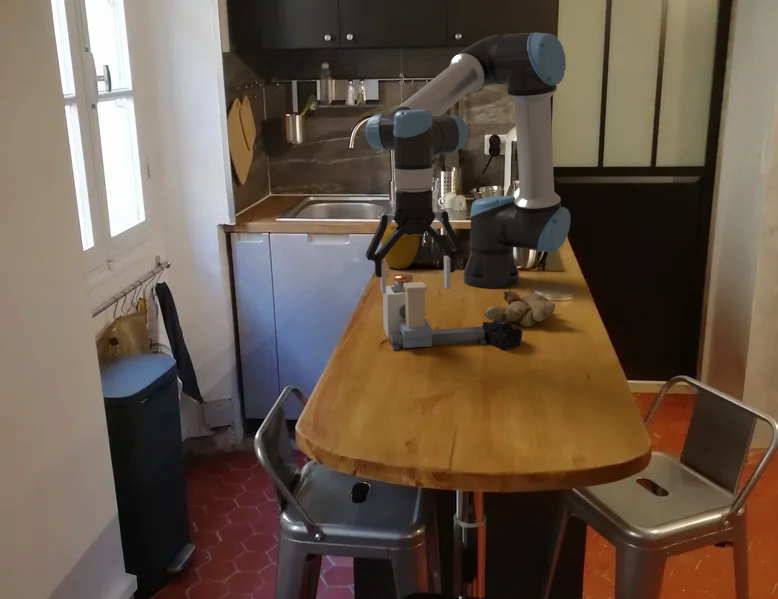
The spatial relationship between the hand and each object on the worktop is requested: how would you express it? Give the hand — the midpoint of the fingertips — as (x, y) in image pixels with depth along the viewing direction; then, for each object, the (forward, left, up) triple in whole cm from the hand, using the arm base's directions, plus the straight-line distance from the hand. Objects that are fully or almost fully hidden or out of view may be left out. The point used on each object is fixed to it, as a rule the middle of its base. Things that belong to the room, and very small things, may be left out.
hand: (415, 289), depth 165 cm
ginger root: (-28, -11, -12) cm, 32 cm away
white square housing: (+1, -8, -12) cm, 14 cm away
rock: (-18, +2, -13) cm, 22 cm away
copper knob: (+1, -8, -5) cm, 9 cm away
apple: (-8, -67, -12) cm, 69 cm away
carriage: (0, 0, -12) cm, 12 cm away
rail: (-5, 0, -12) cm, 13 cm away
